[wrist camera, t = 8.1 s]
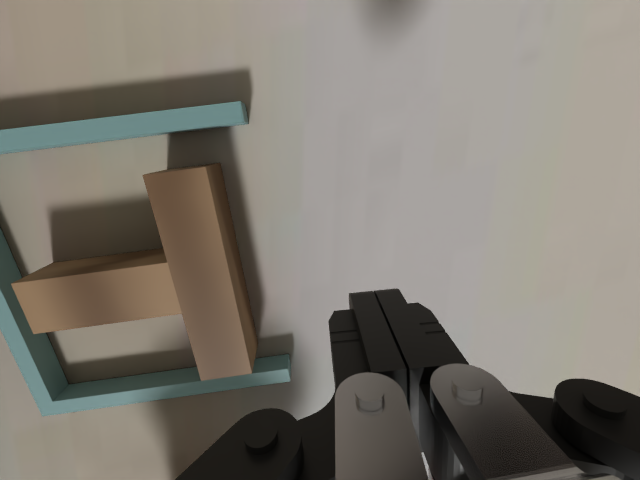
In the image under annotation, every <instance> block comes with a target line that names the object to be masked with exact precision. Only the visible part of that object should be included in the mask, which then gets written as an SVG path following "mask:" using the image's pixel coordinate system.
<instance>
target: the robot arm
mask: <svg viewBox="0 0 640 480" xmlns="http://www.w3.org/2000/svg"><path fill="white" fill-rule="evenodd" d="M349 305H350V309H349V310H339V311H334V313H333V314H332V316H331V318H330V320H329V331H330V342H331V352H332V363H333V372H334V381H335V393H334V395H333V397H332V399H331V400H330V402H329V403H328V404H327V405H326V406H325V407H324V408H323V409H321V410H320V411H318V412H317V413H314V414H312V415H310V416H308V417H305V418H303V419H300V420H298V421H297V420H296V419H295V418H294V417H293V416H292V415H291V414H289V413H288V412H286V411H283V410H280V409H272V408H270V409H262V410H258V411H255V412H252V413H250V414H248V415H246V416H245V417H243V418H242V419H240V420H239V421H238V422H237V423H236V424H234V425H233V426H232V427H231V428H230V429H229V430H228V431H227V432H226V433H225V434H224V435H223V436H222V437H220V438H219V439H218V440H217V441H216V442H215V443H214V444H213V445H212V446H211V447H210V448H209V449H208V450H207V451H205V452H204V453H203V454H202V455H201V456H200V457H199V458H198V459H197V460H196V461H195V462H194V463H193V464H192V465H190V466H189V467H188V468H187V469H186V470H185V471H184V472H183V473H182V474H181V475H180V476H179V477H178V478H177V479H175V480H640V397H638V396H636V395H633V394H631V393H628V392H626V391H623V390H621V389H618V388H616V387H613V386H610V385H607V384H605V383H601V382H598V381H593V380H588V379H568V380H565V381H562V382H561V383H559V384H558V385H557V386H556V389H555V393H554V399H553V398H546V397H539V396H532V395H525V394H519V393H514V392H510V391H508V390H507V389H506V388H505V387H504V386H503V385H502V383H501V382H500V381H499V380H498V379H497V378H496V377H494V376H493V375H492V374H490V373H488V372H487V371H485V370H483V369H480V368H478V367H475V366H471V365H469V363H468V362H467V361H466V359H465V358H464V356H463V355H462V354H461V352H460V351H459V349H458V348H457V347H456V345H455V344H454V342H453V341H452V340H451V338H450V337H449V335H448V334H447V333H445V330H444V328H443V327H442V326H441V324H439V321H438V320H437V319H436V317H435V316H434V314H433V313H432V312H431V311H430V310H429V309H427V308H426V307H424V306H422V305H421V304H419V303H409V304H407V302H406V300H405V299H404V297H403V295H402V294H401V292H400V290H399V289H387V290H377V291H374V292H373V291H368V292H358V293H349ZM421 452H424V455H425V457H426V460H427V463H428V465H429V475H428V476H427V472H426V469H425V465H424V461H423V458H422V454H421Z"/></svg>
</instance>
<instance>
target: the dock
mask: <svg viewBox="0 0 640 480" xmlns="http://www.w3.org/2000/svg"><path fill="white" fill-rule="evenodd" d="M244 124H249V123H248V117H247V112H246V106H245V104H244V103H243V102H241V101H237V102H229V103H220V104H212V105H204V106H196V107H187V108H179V109H171V110H162V111H154V112H146V113H137V114H129V115H121V116H112V117H104V118H96V119H87V120H79V121H71V122H63V123H54V124H46V125H38V126H29V127H21V128H13V129H4V130H0V154H6V153H14V152H22V151H31V150H39V149H47V148H55V147H63V146H72V145H80V144H88V143H96V142H104V141H113V140H121V139H129V138H137V137H145V136H154V135H162V134H170V133H178V132H186V131H195V130H203V129H211V128H219V127H227V126H236V125H244ZM21 278H22V276H21V274H20V272H19V269H18V267H17V265H16V262H15V260H14V258H13V256H12V253H11V251H10V249H9V246H8V244H7V242H6V239H5V237H4V235H3V233H2V230H1V228H0V329H1V332H2V334H3V336H4V338H5V340H6V342H7V344H8V346H9V348H10V350H11V352H12V354H13V356H14V358H15V361H16V363H17V365H18V367H19V369H20V371H21V373H22V375H23V377H24V379H25V381H26V383H27V385H28V387H29V389H30V392H31V394H32V396H33V398H34V400H35V402H36V404H37V406H38V408H39V410H40V412H41V414H42V416H48V415H55V414H62V413H69V412H77V411H84V410H91V409H98V408H105V407H112V406H119V405H126V404H133V403H140V402H148V401H155V400H162V399H169V398H176V397H183V396H190V395H197V394H204V393H211V392H219V391H226V390H233V389H240V388H247V387H254V386H261V385H268V384H275V383H282V382H290V375H291V364H290V358H289V354H285V355H278V356H271V357H263V358H256V359H255V361H254V366H253V371H252V374H246V375H239V376H232V377H225V378H218V379H211V380H204V381H201V379H200V375H199V372H198V368H197V367H191V368H184V369H177V370H170V371H163V372H155V373H148V374H141V375H134V376H127V377H119V378H112V379H105V380H98V381H91V382H83V383H76V384H68V382H67V380H66V377H65V375H64V373H63V370H62V368H61V366H60V364H59V361H58V359H57V357H56V354H55V352H54V350H53V347H52V345H51V343H50V341H49V338H48V336H47V334H46V332H45V333H38V334H33V332H32V330H31V327H30V325H29V323H28V321H27V319H26V316H25V314H24V312H23V310H22V308H21V305H20V303H19V301H18V299H17V296H16V294H15V292H14V290H13V288H12V285H11V283H13V282H15V281H17V280H19V279H21Z"/></svg>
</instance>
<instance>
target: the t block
mask: <svg viewBox="0 0 640 480" xmlns="http://www.w3.org/2000/svg"><path fill="white" fill-rule="evenodd" d="M143 178H144V182H145V185H146V189H147V192H148V196H149V199H150V203H151V207H152V210H153V214H154V217H155V221H156V224H157V228H158V231H159V235H160V238H161V242H162V245H163V248H159V249H152V250H144V251H137V252H129V253H122V254H114V255H107V256H99V257H92V258H84V259H77V260H69V261H62V262H54V263H51V264H49V265H47V266H45V267H43V268H41V269H39V270H37V271H35V272H33V273H31V274H29V275H27V276H25V277H23V278H21V279H19V280H17V281H15V282H13V283H11V285H12V288H13V290H14V292H15V294H16V296H17V299H18V301H19V303H20V305H21V308H22V310H23V312H24V314H25V316H26V319H27V321H28V323H29V325H30V327H31V330H32V332H33V334H38V333H45V332H53V331H60V330H67V329H74V328H81V327H89V326H96V325H103V324H110V323H118V322H125V321H132V320H139V319H146V318H154V317H161V316H168V315H175V314H182V315H183V319H184V323H185V326H186V330H187V333H188V337H189V340H190V344H191V347H192V351H193V354H194V358H195V361H196V365H197V368H198V372H199V375H200V379H201V381H204V380H211V379H218V378H225V377H232V376H239V375H246V374H252V371H253V366H254V361H255V356H256V351H257V346H258V340H257V335H256V330H255V326H254V321H253V316H252V311H251V307H250V302H249V297H248V292H247V288H246V283H245V278H244V273H243V269H242V264H241V259H240V254H239V250H238V245H237V240H236V235H235V231H234V226H233V221H232V216H231V212H230V207H229V202H228V197H227V193H226V188H225V183H224V178H223V174H222V169H221V164H220V163H214V164H206V165H198V166H191V167H183V168H175V169H167V170H163V171H158V172H154V173H149V174H145V175H143Z"/></svg>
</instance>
